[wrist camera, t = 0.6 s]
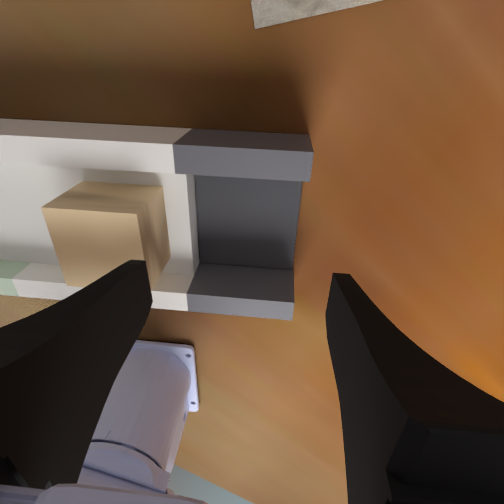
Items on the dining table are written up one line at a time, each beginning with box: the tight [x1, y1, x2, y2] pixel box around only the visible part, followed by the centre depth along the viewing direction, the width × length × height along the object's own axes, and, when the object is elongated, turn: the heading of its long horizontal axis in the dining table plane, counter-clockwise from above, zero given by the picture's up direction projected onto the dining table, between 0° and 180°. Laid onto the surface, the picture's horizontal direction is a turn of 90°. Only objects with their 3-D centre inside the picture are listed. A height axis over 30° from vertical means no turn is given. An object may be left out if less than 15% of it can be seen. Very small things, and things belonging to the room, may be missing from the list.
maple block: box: [41, 181, 171, 290], centre depth 19 cm, size 5×5×4 cm
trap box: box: [0, 118, 314, 320], centre depth 22 cm, size 11×34×4 cm, turn 88°
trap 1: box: [195, 175, 302, 270], centre depth 22 cm, size 8×7×1 cm
